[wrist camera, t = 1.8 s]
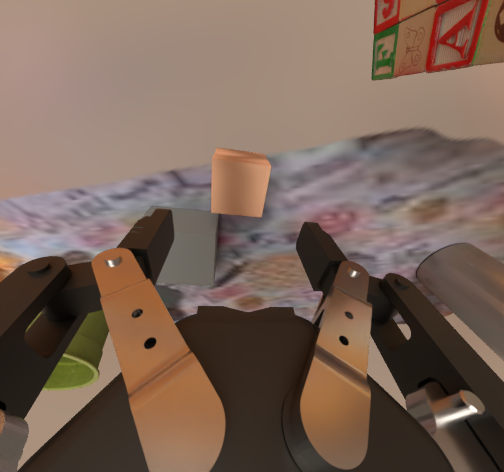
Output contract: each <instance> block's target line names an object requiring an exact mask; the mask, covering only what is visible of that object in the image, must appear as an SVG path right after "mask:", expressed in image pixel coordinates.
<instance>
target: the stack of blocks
mask: <svg viewBox="0 0 504 472" xmlns="http://www.w3.org/2000/svg"><path fill="white" fill-rule="evenodd" d="M373 33H374V42H373V60H372V80H383V79H392V78H396V77H398V76H402V75H410V74H416V73H422V72H425V71H426V73H433V72H440V71H447V70H455V69H460V68H466V67H471V66H474V65H483V64H491V63H501V62H504V0H375V10H374V31H373Z"/></svg>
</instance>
